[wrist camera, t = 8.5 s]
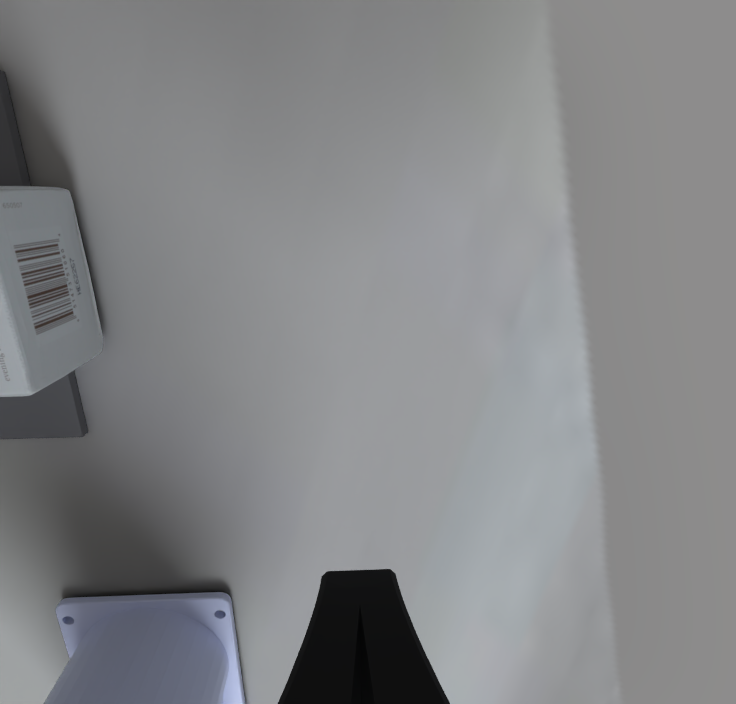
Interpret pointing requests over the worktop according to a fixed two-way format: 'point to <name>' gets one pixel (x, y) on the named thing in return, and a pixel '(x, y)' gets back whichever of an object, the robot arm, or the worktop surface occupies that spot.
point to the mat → (61, 398)
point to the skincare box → (43, 291)
